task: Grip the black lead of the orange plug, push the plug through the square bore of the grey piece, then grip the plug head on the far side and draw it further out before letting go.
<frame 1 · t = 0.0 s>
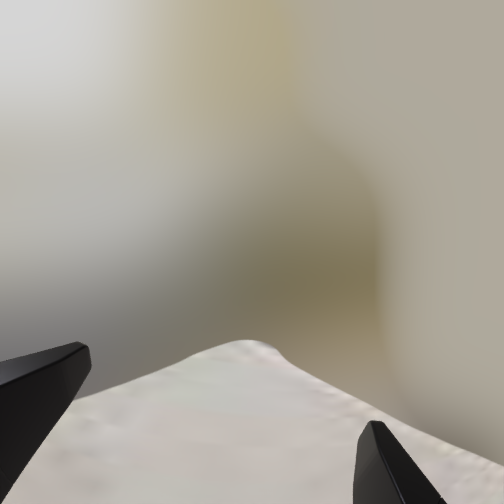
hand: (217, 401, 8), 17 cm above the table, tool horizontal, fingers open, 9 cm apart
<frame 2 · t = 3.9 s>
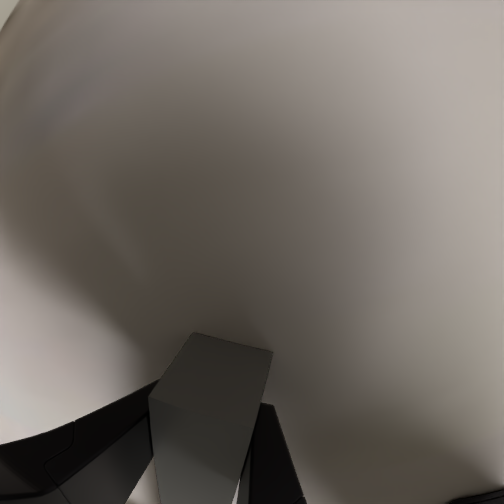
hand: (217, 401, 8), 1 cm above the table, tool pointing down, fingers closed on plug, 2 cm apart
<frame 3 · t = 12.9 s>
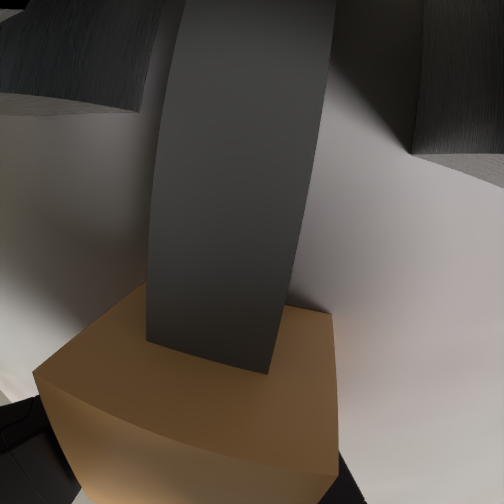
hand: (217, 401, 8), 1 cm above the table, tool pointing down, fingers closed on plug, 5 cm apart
grey piece: (283, 31, 6), on the table
plug: (228, 366, 9), on the table, touching gripper
when the fingers open (1 cm above the table, at t = 15.0 s): plug stays where it is, on the table.
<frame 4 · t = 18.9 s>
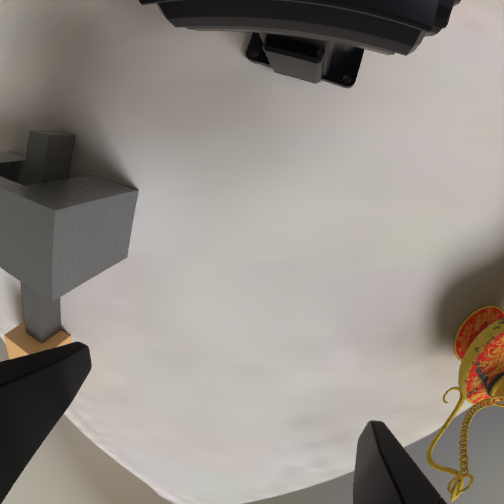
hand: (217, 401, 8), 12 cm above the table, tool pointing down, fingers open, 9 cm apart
magic lamp: (495, 319, 18), on the table
grey piece: (55, 196, 21), on the table
plug: (54, 343, 26), on the table
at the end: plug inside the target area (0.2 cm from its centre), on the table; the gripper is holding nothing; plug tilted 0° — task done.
